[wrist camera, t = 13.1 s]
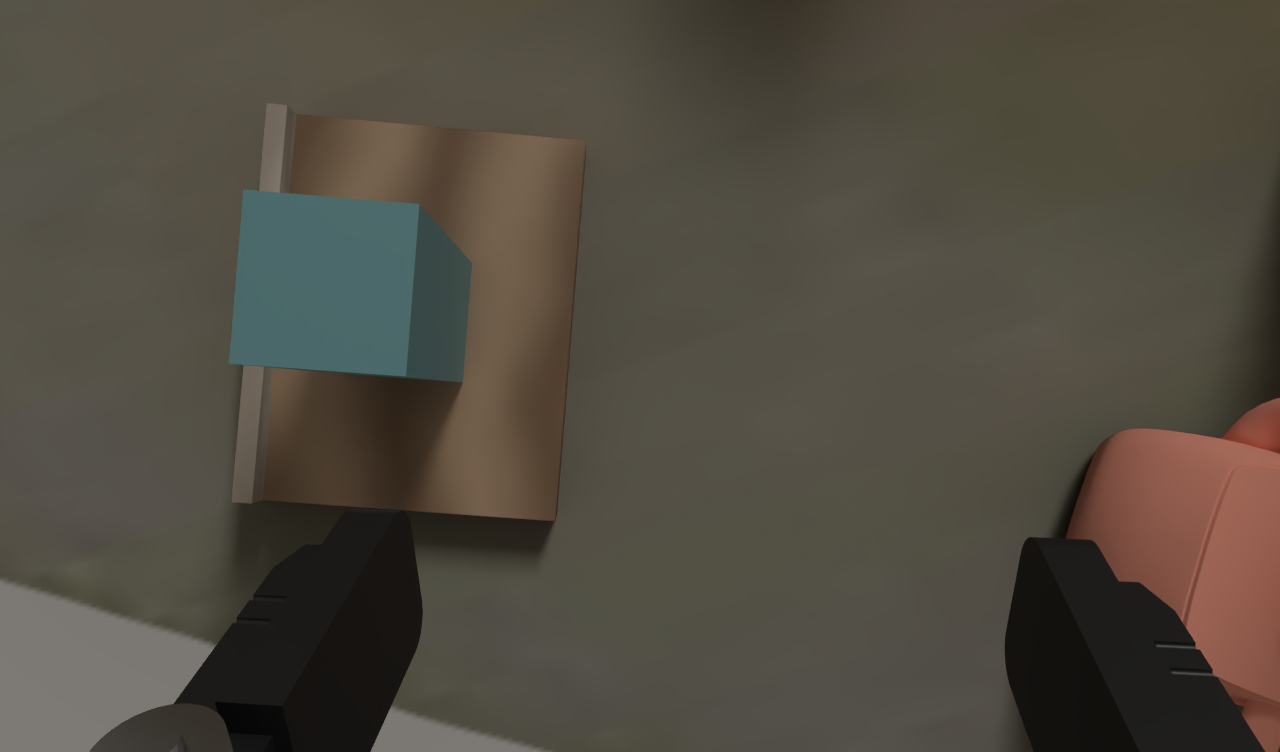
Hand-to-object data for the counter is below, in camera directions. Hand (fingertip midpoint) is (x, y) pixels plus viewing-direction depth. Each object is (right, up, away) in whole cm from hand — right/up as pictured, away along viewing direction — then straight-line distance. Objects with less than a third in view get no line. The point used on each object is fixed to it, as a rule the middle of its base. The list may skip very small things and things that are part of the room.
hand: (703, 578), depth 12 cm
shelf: (-10, +5, +28) cm, 31 cm away
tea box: (-10, +5, +26) cm, 29 cm away
